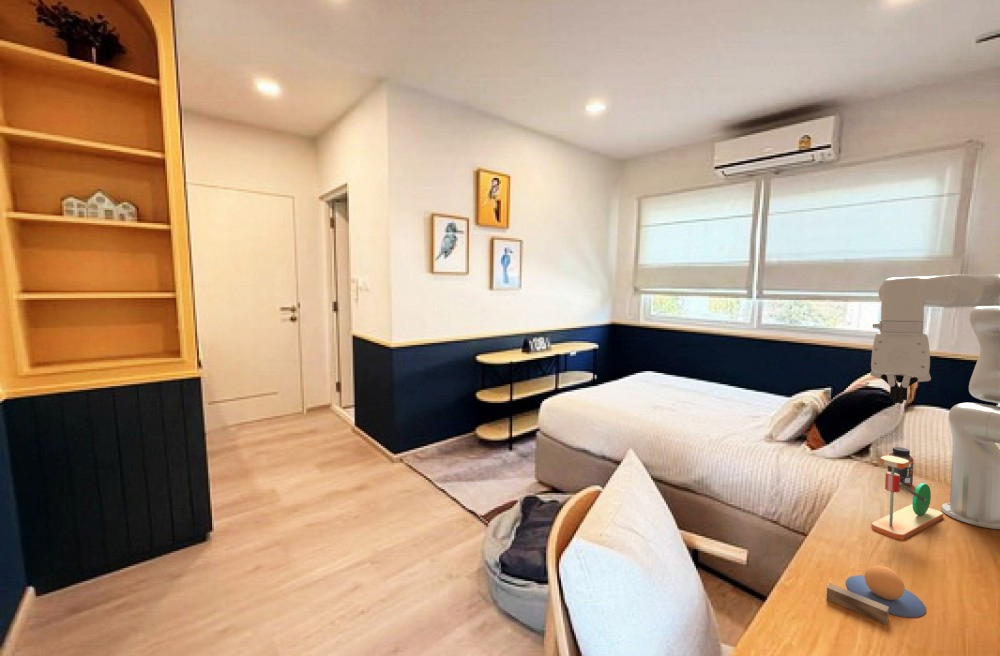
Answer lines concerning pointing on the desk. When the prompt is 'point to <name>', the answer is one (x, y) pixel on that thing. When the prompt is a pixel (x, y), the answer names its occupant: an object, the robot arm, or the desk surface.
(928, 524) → the crank mechanism
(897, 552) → the desk surface
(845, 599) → the stopper strip
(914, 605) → the mark
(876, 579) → the ball
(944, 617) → the desk surface
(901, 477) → the supplement bottle
